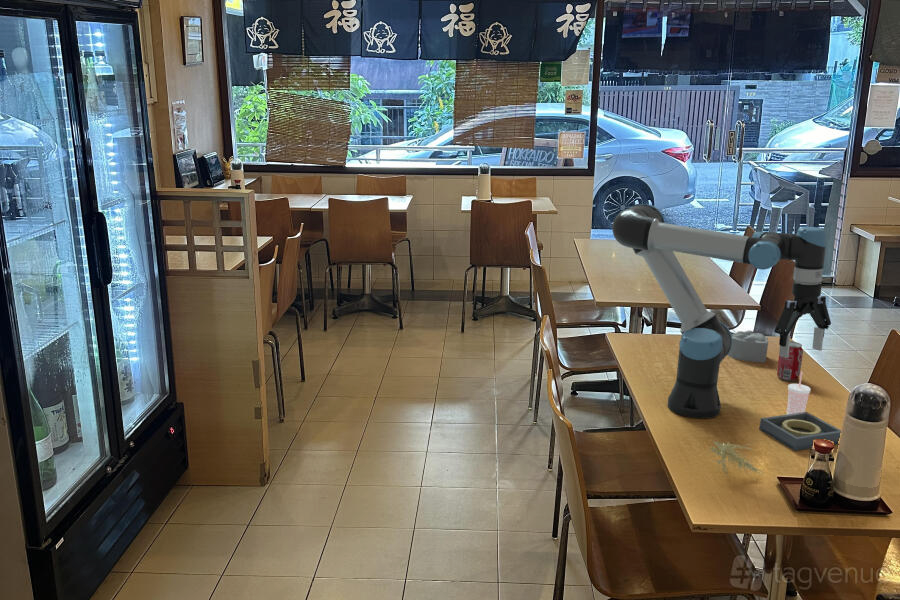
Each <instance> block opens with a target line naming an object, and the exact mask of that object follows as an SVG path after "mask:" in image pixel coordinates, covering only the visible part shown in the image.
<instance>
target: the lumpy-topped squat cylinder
mask: <svg viewBox="0 0 900 600" xmlns="http://www.w3.org/2000/svg"><path fill="white" fill-rule="evenodd" d="M731 335H732V346H731V349H730V352H729V353H728V355H727V356H728V357H729V358H731V359H735V360H738V359H739V361H742V360H744V361H743V362H750V361H752V362H753V363H765V362H767V354H768V348H769V347H768V346H769V341H768V336H765V335H764V334H762V333H760V332H759V333H758V332H757V333H754V331H753V330H750V329H747V330H745V331H742V330H740V331H739V330H738V331H736V332H734V333H731Z"/></svg>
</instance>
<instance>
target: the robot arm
mask: <svg viewBox="0 0 900 600" xmlns="http://www.w3.org/2000/svg"><path fill="white" fill-rule="evenodd" d="M611 228H612V235H613V237H614V239H615V240H616V241H617V243H619V244H620V245H621V246H623V247H625V248H629V249H632V250H633V252H634V254H635V255H636V256H638V257H639V256H640V257H642V258H643V259H644V261H645V263H646V264H647V266H648V268H649V269H650V271H651V273H652V274H653V277H654V278H655V280H656V282H657V283H658V285H659V287H660V288H661V291H662V292H663V294H664V296H665V297H666V299H667V301H668V303H669V304H670V306H671V308H672V309H673V311H674V313H675V315H676V317H677V318H678V320H679V322H680V324H681V325H680V326H681V327H680V333H681V337H680V340H679V346H678V347H679V348H678V358H677V359H678V361H677V368H676V369H677V370H676V378H675V379H676V380H675V383H674V384H673V387H672V390H671V391H670V394H669V395H668V398H667V408H668V409H669V410H670V411H671V412H673V413H675V414H677V415H680V416H683V417H686V418H687V417H688V418H692V419H713V418H715V417H717V416H719V415H720V413H721V407H722V406H721V405H722V403H721V399H720V395H719V394H720V393H719V390H718V381H719V380H718V379H719V373H720V365H721V363H722V362H723V360H724V359H725V358H726V357H727V356H728V353H729V352H730V349H731V346H732V335H731V334H732V333H731V331H730V329H729V327H728V326H727V325H725V323H723V322H721V321H720V320H719V319H718V316H717V315H716V313H715V312H712V311H709V310H708V309H707V308H706V306H705V304H704V302H703V300H702V299H701V297H700V296H699V294H698V292H697V291H696V289H695V286H693V283H692V282H691V280H690V279H689V277H688V275H687V273H686V272H685V269H684V268H683V267H682V265H681V263H680V261H679V259H678V258H677V256H676V254H675V253H681V254H687V255H688V254H689V255H695V256H700V257H705V258H712V259H717V260H722V261H728V262H735V263H741V264H745V265H750V266H752V267H754V268H756V269H758V270H762V271H763V270H769V269H771V268H772V267H774V266H776V265H777V264H778V263H779V261H780V260H788V261H794V268H793V277H792V279H793V282H792V292H791V293H792V295H793V296H794V298H793V300H788V299H786V300H785V302H784V307H783V310H782V312H781V314H780V316H779V319H778V321H777V323H776V327H775V329H774V330H773V331H774V333H775V334H778V335H779V341H778V342H779V344H778V346H779V352H778V357H779V356H782V357H785V358H789V347H790V341H791V335H789V334H790V333H791V331H792V330H793V328H794V327H795V325H796V323H797V322H798V321H799V319H800V318H801V317H803V316H805V315H807V314H809V315H810V316H811V318H812V320H813V322H814V323H815V325H816V326H815V327H814V328H813V337H812V338H813V340H812V347H811V348H812V349H813V350H816V351H819V352H821V351H822V350H823V341H824V337H825V330H828V329H829V328H830V326H831V325H832V321H831V318H830V315H829V311H828V310H829V309H828V307H827V300H826V299H827V297H826V296H825V295H822V283H821V282H822V281H823V273H824V265H825V256H826V249H827V247H826V246H827V231H826V229H824V228H822V227H816V226H801V227H799V228H798V229H797V232H796V233H786V232H785V233H784V232H772V231H771V232H769V231H756V232H754V233H753V234H752V236H747V235H741V234H735V233H728V232H722V231H715V230H710V229H704V228H697V227H691V226H683V225H677V224H671V223H665V218H664V215H663V213H662V212H661V210H660V209H659V208H658V207H656V206H654V205H652V204H648V203H640V204H635V205H633V206H631V207H629V208H626V209H624V210H622V211H621V212H619V213H618V214H617V215H616V216H615V218H614V220H613V222H612V226H611Z"/></svg>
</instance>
